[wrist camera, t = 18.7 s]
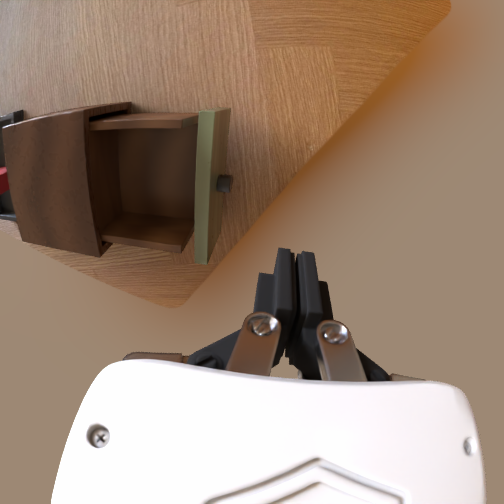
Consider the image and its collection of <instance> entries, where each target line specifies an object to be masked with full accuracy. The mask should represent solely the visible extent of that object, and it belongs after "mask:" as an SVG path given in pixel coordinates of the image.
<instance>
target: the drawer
mask: <svg viewBox="0 0 504 504" xmlns="http://www.w3.org/2000/svg"><path fill="white" fill-rule="evenodd" d="M230 112H231V108H223V107H218V108H212V109H207V110H201V111H199V113H134V114H118V115H112V116H108V117H104V118H100V119H96V120H92V121H89V143H90V160H91V172H92V182H93V191H94V199H95V207H96V213H97V220H98V226H99V232H100V237H101V241H106V242H112V243H118V244H124V245H131V246H137V247H143V248H150V249H156V250H163V251H169V252H176V253H182V251H183V250H184V248H185V246H186V244H187V243H188V241H189V239H190V237H191V236H192V234H193V232H194V230H195V263H198V264H204V265H207V264H208V261H209V259H210V256H211V254H212V251H213V249H214V246H215V244H216V241H217V239H218V237H219V234H220V232H221V224H222V208H223V194H224V192H225V193H230V192H231V189H232V183H233V176H232V175H225V168H226V155H227V144H228V133H229V122H230Z"/></svg>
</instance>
